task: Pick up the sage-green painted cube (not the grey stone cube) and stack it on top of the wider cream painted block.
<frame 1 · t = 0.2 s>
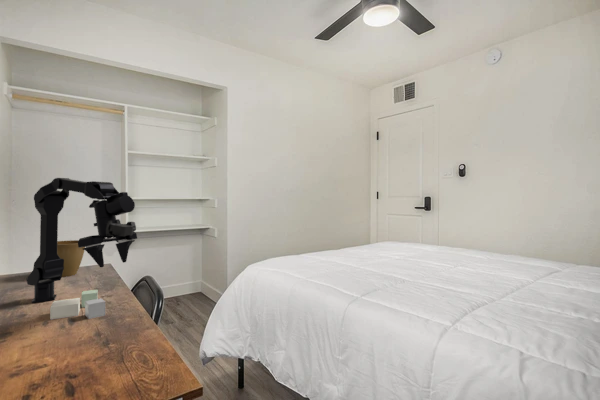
hand: (113, 264, 107), 15 cm above the table, tool pointing down, fingers open, 9 cm apart
plant pot: (67, 275, 155), on the table
cream block: (65, 314, 103), on the table
grey cube: (95, 315, 102), on the table
sage cube: (89, 304, 112), on the table
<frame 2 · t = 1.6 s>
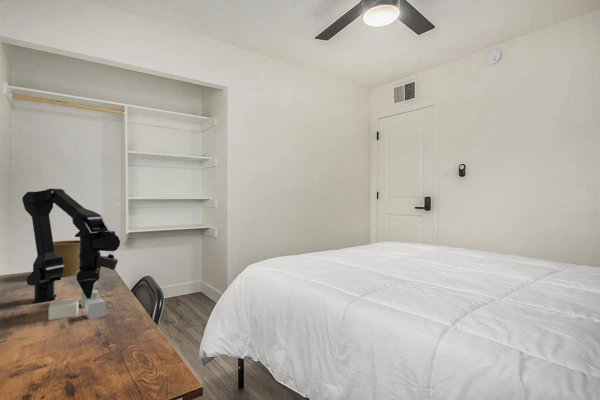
hand: (89, 294, 112), 3 cm above the table, tool pointing down, fingers open, 9 cm apart
nothing on the table moved.
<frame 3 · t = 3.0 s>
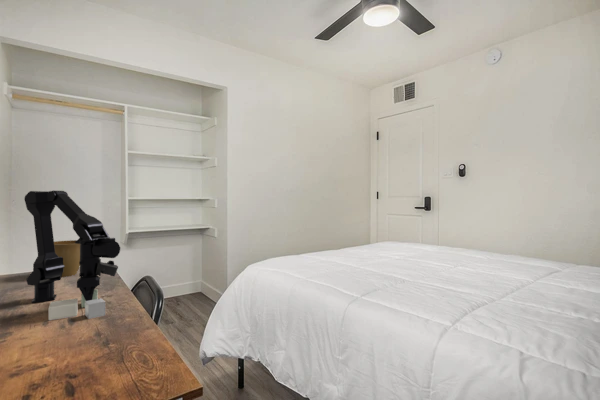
hand: (89, 301, 112), 1 cm above the table, tool pointing down, fingers closed on sage cube, 4 cm apart
sage cube: (89, 304, 112), on the table, touching gripper
everything else where it was.
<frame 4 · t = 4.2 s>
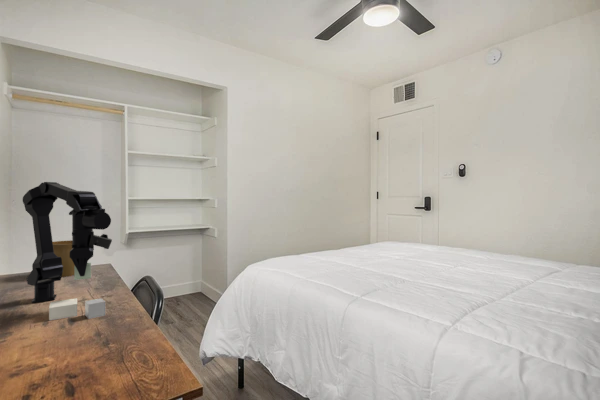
hand: (82, 274, 109), 11 cm above the table, tool pointing down, fingers closed on sage cube, 4 cm apart
sage cube: (82, 277, 109), point 10 cm above the table, touching gripper
everything else where it was.
when the fingers open (7 cm above the table, at t = 5.6 s): sage cube drops 2 cm, resting on cream block.
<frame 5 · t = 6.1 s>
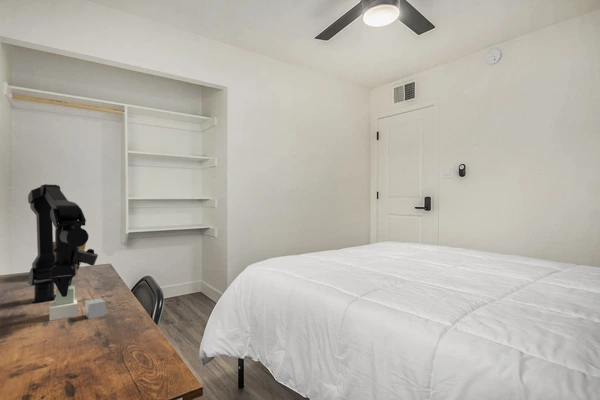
hand: (66, 292, 103), 7 cm above the table, tool pointing down, fingers open, 9 cm apart
cream block: (63, 315, 102), on the table, touching sage cube
sage cube: (65, 302, 103), point 4 cm above the table, touching cream block
everything else where it was.
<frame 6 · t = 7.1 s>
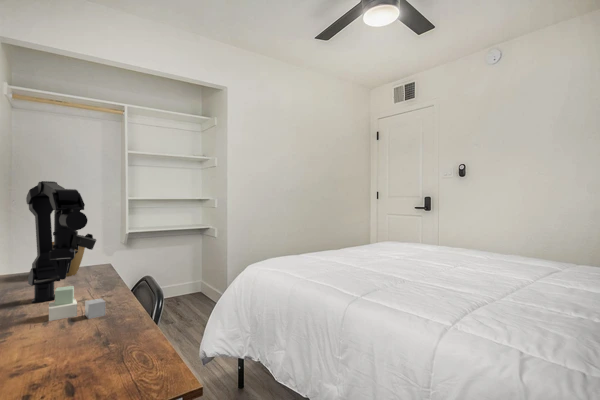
hand: (65, 276, 104), 12 cm above the table, tool pointing down, fingers open, 9 cm apart
nothing on the table moved.
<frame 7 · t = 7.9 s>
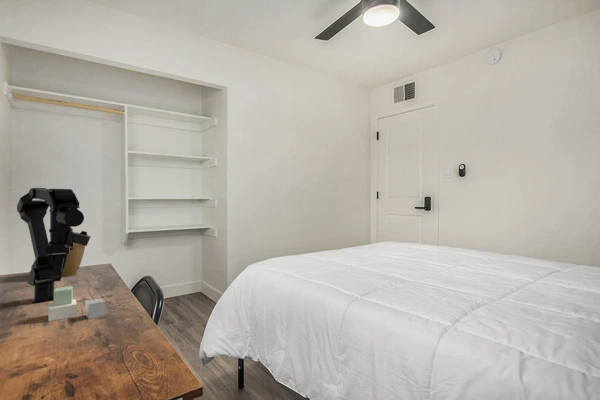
hand: (60, 271, 110), 12 cm above the table, tool pointing down, fingers open, 9 cm apart
cream block: (62, 316, 102), on the table
sage cube: (63, 302, 102), point 4 cm above the table
everything else where it was.
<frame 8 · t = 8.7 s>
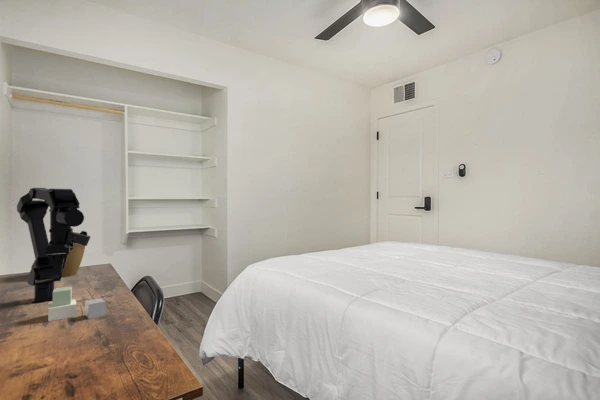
hand: (60, 271, 110), 12 cm above the table, tool pointing down, fingers open, 9 cm apart
cream block: (62, 316, 101), on the table, touching sage cube
sage cube: (62, 303, 102), point 4 cm above the table, touching cream block
everything else where it was.
at the end: sage cube 0.0 cm off-centre on the cream block, point 4.0 cm above the cream block's base; sage cube touching cream block; sage cube tilted 0° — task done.
